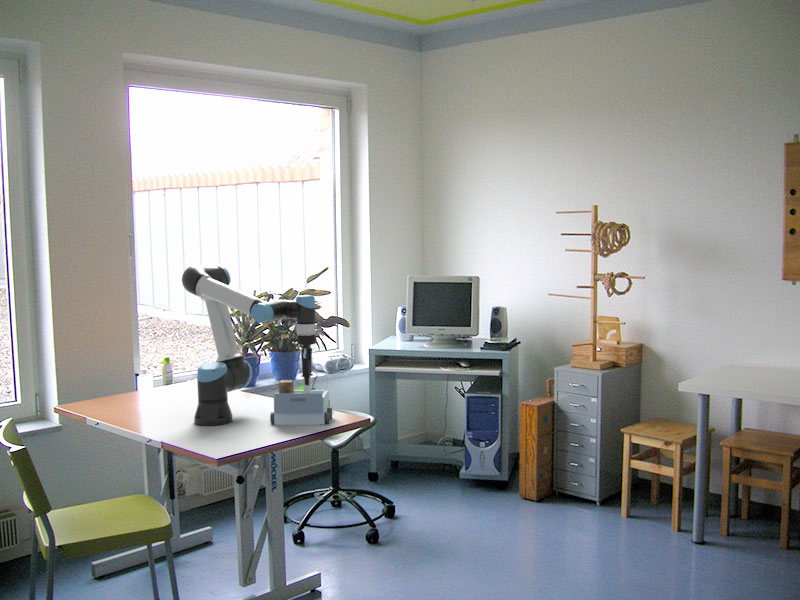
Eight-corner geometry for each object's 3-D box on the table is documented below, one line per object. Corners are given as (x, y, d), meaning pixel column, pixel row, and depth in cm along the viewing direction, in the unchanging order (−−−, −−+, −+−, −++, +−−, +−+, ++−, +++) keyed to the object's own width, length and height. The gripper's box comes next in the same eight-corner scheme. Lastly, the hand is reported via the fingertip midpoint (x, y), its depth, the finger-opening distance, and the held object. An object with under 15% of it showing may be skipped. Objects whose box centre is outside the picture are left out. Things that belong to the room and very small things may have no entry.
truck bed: (270, 424, 306) (269, 397, 305) (277, 416, 320) (276, 390, 319) (328, 424, 305) (328, 397, 304) (332, 416, 319) (332, 390, 319)
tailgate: (274, 413, 303) (273, 393, 303) (275, 412, 305) (274, 392, 304) (322, 413, 303) (321, 393, 302) (322, 412, 304) (322, 392, 304)
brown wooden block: (279, 412, 306) (278, 382, 305) (281, 409, 311) (281, 380, 310) (291, 412, 306) (291, 382, 305) (293, 409, 311) (293, 380, 310)
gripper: (313, 336, 299) (314, 395, 301) (317, 332, 312) (319, 389, 314) (294, 336, 299) (295, 395, 301) (299, 332, 312) (300, 389, 314)
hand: (307, 392), depth 307 cm, fingers closed
